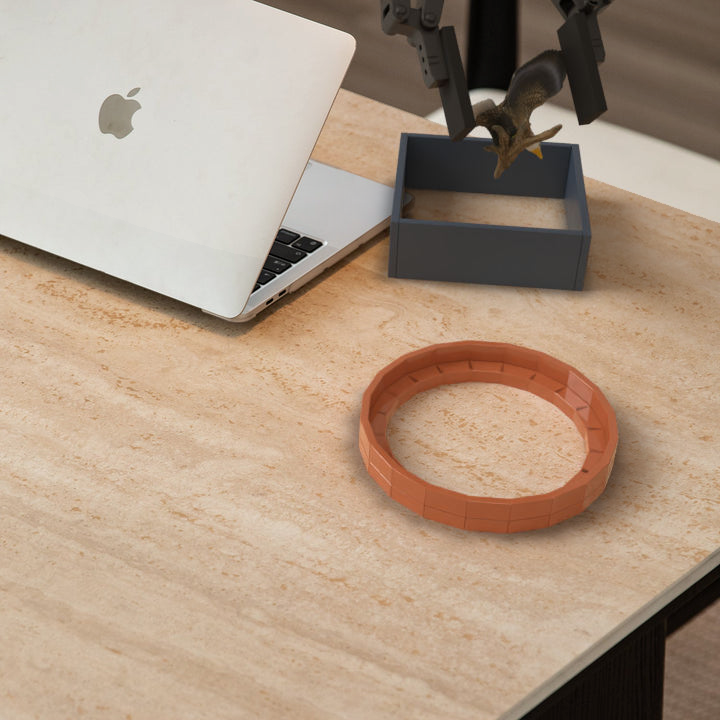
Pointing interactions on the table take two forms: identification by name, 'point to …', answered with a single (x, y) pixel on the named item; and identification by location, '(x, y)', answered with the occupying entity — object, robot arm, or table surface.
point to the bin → (484, 241)
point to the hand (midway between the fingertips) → (529, 125)
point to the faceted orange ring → (500, 368)
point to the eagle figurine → (521, 108)
